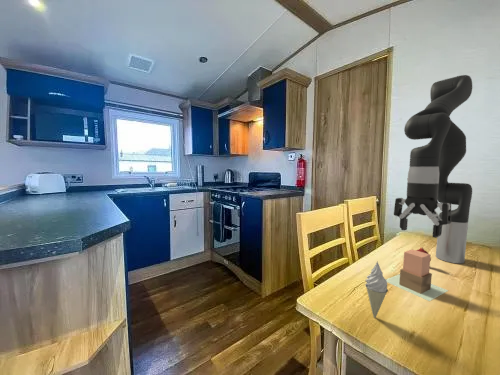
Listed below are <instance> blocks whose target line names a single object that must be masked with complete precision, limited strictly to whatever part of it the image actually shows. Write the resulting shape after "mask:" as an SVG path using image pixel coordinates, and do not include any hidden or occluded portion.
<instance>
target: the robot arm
mask: <svg viewBox="0 0 500 375" xmlns="http://www.w3.org/2000/svg"><path fill="white" fill-rule="evenodd" d="M472 92H473V80H472V77H471V76H470V75H467V74H463V75H457V76H453V77H450V78H445V79H442V80H437V81H436V82H434V83H433V84H432V85H431V87H430V95H429V96H430V102H429V103H428V104H427V105H426V107H425V108H424V109H423V110H420V111H419V112H417V113H415V114H413V115H412V116H411V117H409V119H408V120H407V121H406V123H405V124H404V128H403V129H404V134H405V136H406V137H407V139H410V140H427V139H431V140H429V142H428V143H427V144H425V145H422V146H418V147H417V146H416V147H414V148H412V149H411V150H410V153H409V154H410V155H409V168H408V172H407V183H406V184H407V186H406V198H403V197H397V198H395V201H394V208H393V215H394V216H396V217H398V218H399V228H400V229H401V231H408V222H409V219H408V217H409V216H411V215H412V214H413V215H421V216H427V217H428V219H430V220H431V222H432V223H433V226H432V237H433V238H435V239H436V248H435V249H436V250H435V257H436V258H437V259H439V260H442V261H445V262H447V263H453V264H465V260H466V250H467V241H468V240H467V238H468V226H469V217H470V209H471V203H472V198H473V187H472V185H471V184H470V183H465V182H463V183H462V182H448V179H449V176H450V174H451V172H453V170H455V169H454V168H456V167H457V166H458V165H459V163H460V162H461V161H462V160H463V158H464V157H465V156H466V153H467V137H466V134H465V133H464V132H463V130H461V128H460V127H459V126H457V125H456V123H454V122H453V120H452V118H451V117H450V116H451V114H452V113H453V111H455V110H456V109H458V108H459V107H460V106H461V105H463V104H464V103H465V102H466V101H468V100H469V98H470V97H471V95H472ZM403 205H406V206H407V207H406V208H405V209H404V210H403ZM452 205H454V206H455V205H456V206H457V208H455V209H452ZM438 208H439V211H441V212H439V213H438V212H437V211H436V209H438Z"/></svg>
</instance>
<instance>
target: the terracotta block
mask: <svg viewBox="0 0 500 375" xmlns="http://www.w3.org/2000/svg"><path fill="white" fill-rule="evenodd" d="M416 250H417V249H409V250H406V251H404V252H403V264H402V269H403V270H404V271H407V272H409V273H412V274H415V275H417V276H420V277H422V276H424V275H426V274H429V273H430V269H431V268H430V267H431V261H430V257H431V254H430V253H428V254H427V253H423V252H420V251H416Z"/></svg>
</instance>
